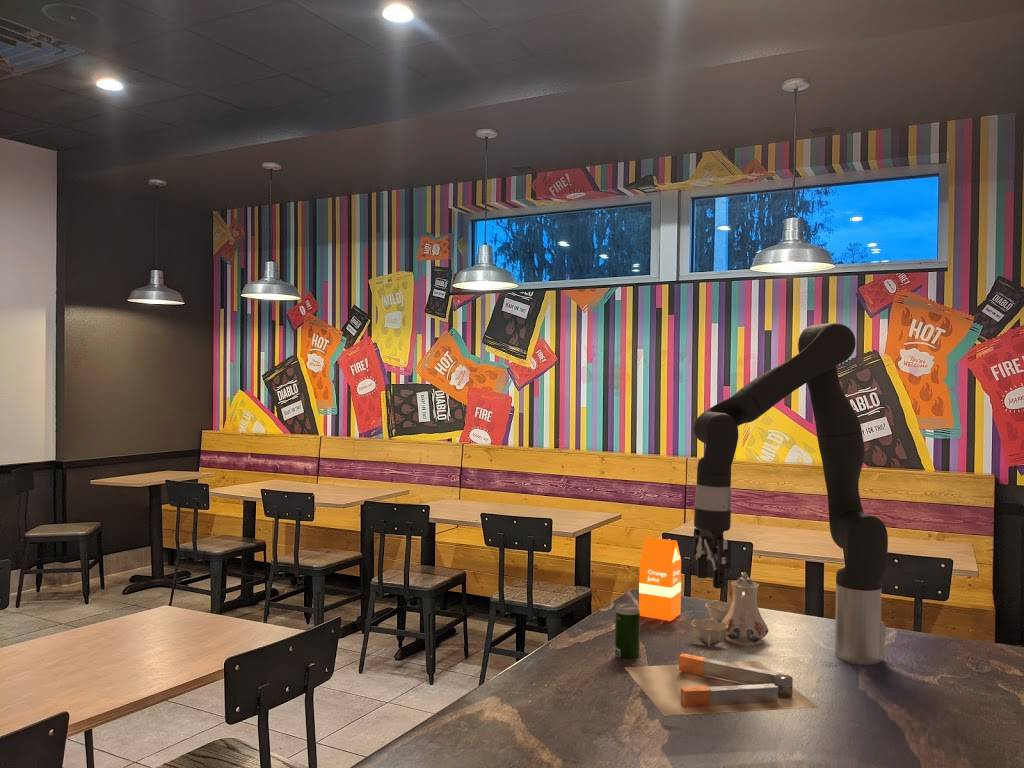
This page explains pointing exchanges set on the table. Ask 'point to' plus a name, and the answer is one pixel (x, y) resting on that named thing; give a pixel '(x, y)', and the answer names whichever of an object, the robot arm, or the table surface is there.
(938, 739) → the table surface
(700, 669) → the tong free arm
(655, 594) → the orange juice
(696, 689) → the tong fixed arm
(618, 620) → the beer can
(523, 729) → the table surface
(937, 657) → the table surface
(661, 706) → the cutting board
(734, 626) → the chinaware
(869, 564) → the robot arm
